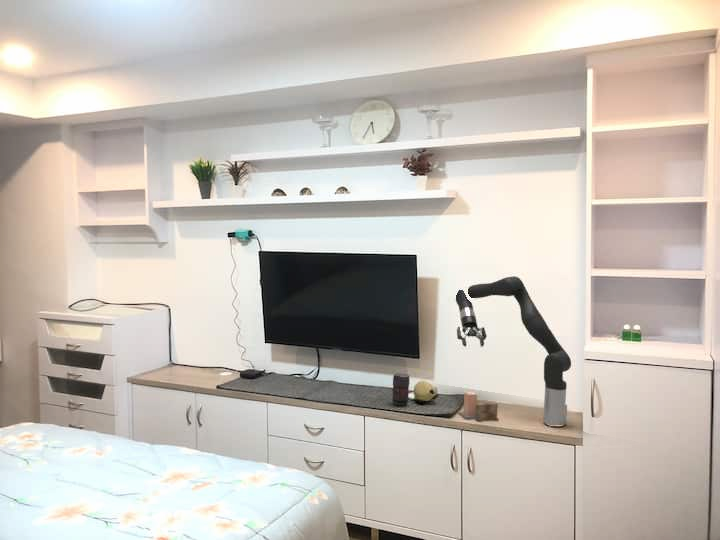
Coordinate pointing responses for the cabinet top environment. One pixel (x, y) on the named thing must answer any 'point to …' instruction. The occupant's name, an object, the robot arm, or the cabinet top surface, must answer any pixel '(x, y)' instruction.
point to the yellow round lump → (424, 391)
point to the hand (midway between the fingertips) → (473, 345)
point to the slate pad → (466, 416)
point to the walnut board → (486, 412)
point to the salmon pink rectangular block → (470, 403)
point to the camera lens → (400, 389)
